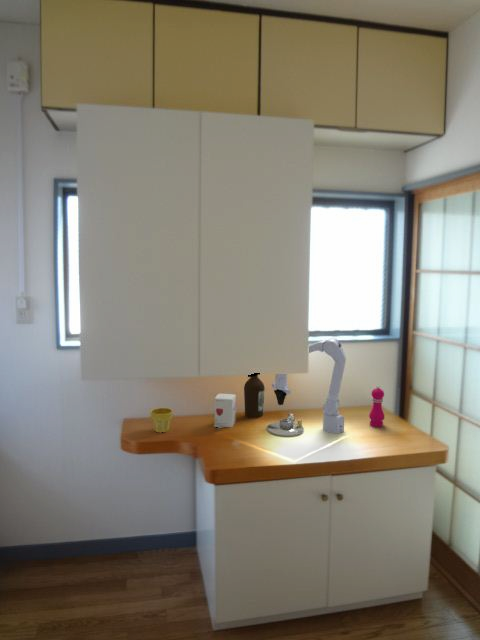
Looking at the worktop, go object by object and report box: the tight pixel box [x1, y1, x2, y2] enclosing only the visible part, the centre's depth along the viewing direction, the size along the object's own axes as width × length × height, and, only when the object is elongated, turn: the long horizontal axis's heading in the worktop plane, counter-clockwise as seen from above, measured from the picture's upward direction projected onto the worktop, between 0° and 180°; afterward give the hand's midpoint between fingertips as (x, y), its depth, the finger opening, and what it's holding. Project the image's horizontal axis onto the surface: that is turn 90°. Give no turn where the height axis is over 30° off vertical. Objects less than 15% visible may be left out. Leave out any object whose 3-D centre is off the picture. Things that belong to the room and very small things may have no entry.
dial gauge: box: [286, 413, 295, 422], centre depth 230 cm, size 4×6×5 cm, turn 136°
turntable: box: [267, 418, 305, 438], centre depth 219 cm, size 17×17×4 cm
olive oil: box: [243, 374, 266, 419], centre depth 239 cm, size 11×11×25 cm
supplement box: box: [213, 393, 237, 429], centre depth 226 cm, size 9×9×15 cm
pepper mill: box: [368, 385, 385, 428], centre depth 229 cm, size 7×7×20 cm
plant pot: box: [150, 407, 174, 433], centre depth 219 cm, size 10×10×10 cm
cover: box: [279, 418, 294, 430], centre depth 219 cm, size 6×6×4 cm
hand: (280, 404), depth 227 cm, fingers closed
